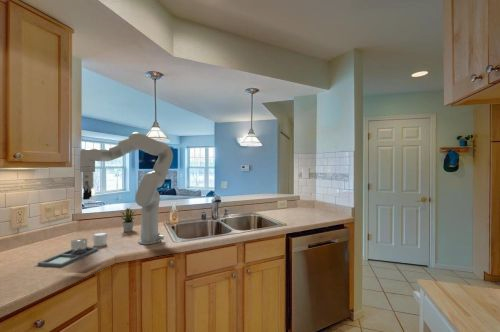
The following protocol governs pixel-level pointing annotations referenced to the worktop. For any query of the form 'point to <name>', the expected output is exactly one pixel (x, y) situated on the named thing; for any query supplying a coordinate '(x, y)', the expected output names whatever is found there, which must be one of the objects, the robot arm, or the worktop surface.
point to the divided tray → (65, 259)
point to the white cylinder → (99, 239)
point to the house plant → (127, 220)
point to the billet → (79, 246)
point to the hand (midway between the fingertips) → (87, 198)
